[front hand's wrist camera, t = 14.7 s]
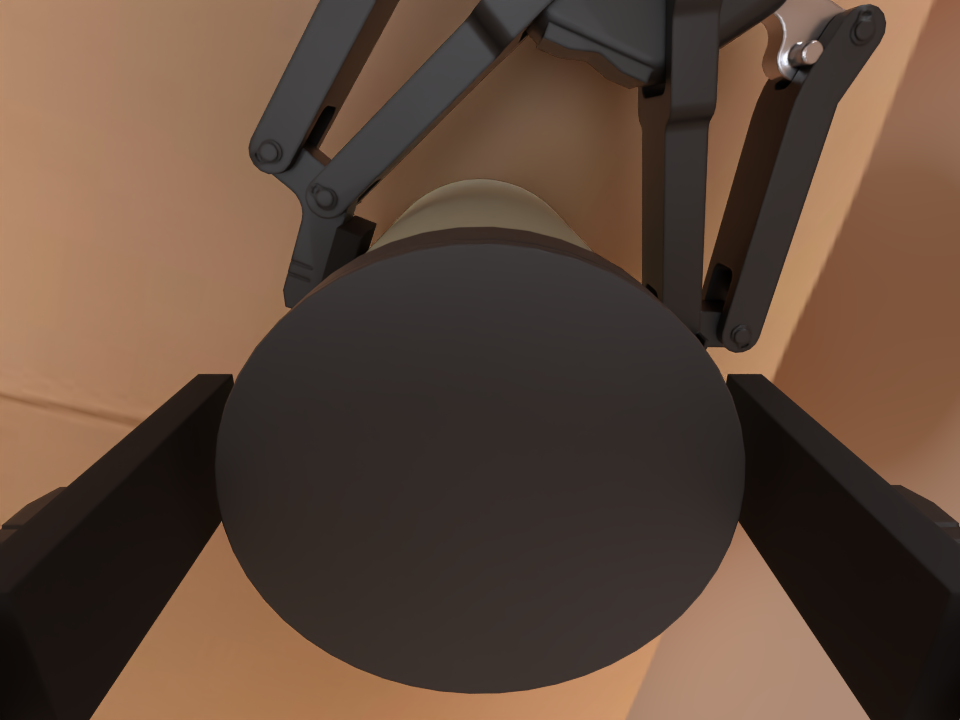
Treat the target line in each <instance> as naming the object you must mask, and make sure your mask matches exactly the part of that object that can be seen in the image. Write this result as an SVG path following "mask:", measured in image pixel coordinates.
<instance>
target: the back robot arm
mask: <svg viewBox="0 0 960 720" xmlns="http://www.w3.org/2000/svg"><path fill="white" fill-rule="evenodd" d="M398 2H399V0H320V1H319V3H318V5H317V7H316V9H315V11H314V13H313V15H312V17H311V19H310V21H309V23H308V25H307V27H306V29H305V31H304V33H303V35H302V37H301V39H300V41H299V43H298V45H297V47H296V49H295V51H294V53H293V55H292V58H291V60H290V62H289V64H288V66H287V68H286V70H285V72H284V74H283V76H282V78H281V80H280V82H279V84H278V86H277V88H276V90H275V92H274V94H273V96H272V98H271V100H270V102H269V104H268V106H267V108H266V110H265V112H264V114H263V116H262V118H261V120H260V122H259V124H258V126H257V128H256V130H255V132H254V134H253V136H252V138H251V140H250V144H249V155H250V158H251V160H252V162H253V164H254V165H255V166H256V167H257V168H258V169H259V170H260V171H263V172H265V173H267V174H272V175H274V176H275V177H276V178H277V179H279V180H280V181H281V182H282V183H283V184H285V185H286V186H287V187H288V188H290V189H291V190H292V191H293V192H294V193H295V194H296V196H297V197H298V199H299V201H300V203H301V206H302V213H303V215H302V221H301V225H300V229H299V232H298V236H297V240H296V244H295V247H294V251H293V255H292V259H291V263H290V266H289V270H288V274H287V278H286V281H285V285H284V289H283V292H284V299H285V306H286V307H288V308H291V309H292V308H293V307H294V306H295V305H296V304H297V303H298V302H300V301H301V300H302V299H303V298H304V297H305V296H306V295H307V294H308V293H309V292H310V291H312V290H313V289H314V288H315V287H316V286H318V285H319V284H320V283H321V282H322V281H323V280H325V279H326V278H327V277H328V276H329V275H331V274H332V273H333V272H335V271H336V270H338V269H340V268H341V267H343V266H344V265H346V264H348V263H349V262H351V261H352V260H354V259H356V258H357V257H359V256H361V255H363V254H365V253H366V252H367V251H368V250H369V246H370V243H371V240H372V237H373V234H374V230H375V227H376V223H374V222H371V221H369V220H366V219H363V218H361V217H358V216H354V217H353V215H354V212H355V208H356V205H357V204H359V203H361V200H362V199H363V198H364V197H365V196H366V195H367V194H368V193H369V192H370V191H371V190H372V189H373V188H374V187H375V186H376V185H377V184H378V183H379V182H380V181H381V180H382V179H383V178H384V177H385V176H386V175H387V174H388V173H389V172H390V171H391V170H392V169H393V168H394V167H395V166H396V165H397V164H398V163H399V162H400V161H401V160H402V159H403V158H404V157H405V156H406V155H407V154H408V153H409V152H410V151H411V150H412V149H413V148H414V147H415V146H416V145H417V144H418V143H419V142H420V141H421V140H422V139H423V138H424V137H425V136H426V135H427V134H428V133H429V132H430V131H431V130H432V129H433V128H434V127H435V126H436V125H437V124H438V123H439V122H440V121H441V120H442V119H443V118H444V117H445V116H446V115H447V114H448V113H449V112H450V111H451V110H452V109H453V108H454V107H455V106H456V105H458V104H459V103H460V102H461V101H462V100H463V99H464V98H465V97H466V96H467V95H468V94H469V93H470V92H471V91H472V90H473V89H474V88H475V87H476V86H477V85H478V84H479V83H480V82H481V81H482V80H483V79H484V78H485V77H486V76H487V75H488V74H489V73H490V72H491V71H492V70H493V69H494V68H495V67H496V66H497V65H498V64H499V63H500V62H502V61H503V60H504V59H505V58H506V57H507V56H508V55H509V54H510V53H511V52H512V51H513V50H514V49H515V48H516V47H517V46H518V45H519V44H520V43H521V42H522V41H523V40H524V39H525V38H526V37H527V36H528V35H529V36H530V37H531V38H532V39H533V40H534V41H535V42H536V43H537V44H538V45H537V47H536V48H538V49H540V50H542V51H544V52H547V53H549V54H551V55H554V56H556V57H558V58H563V59H571V60H579V61H586V62H588V63H589V64H590V65H591V66H592V67H593V68H595V69H596V70H597V71H598V72H599V73H600V74H602V75H603V76H604V77H605V78H606V79H608V80H610V81H612V82H615V83H617V84H619V85H622V86H624V87H626V88H628V89H631V88H634V87H638V115H639V121H640V124H641V127H642V285H643V286H644V287H646V288H647V289H648V290H649V291H650V292H651V293H652V294H653V295H654V296H655V297H657V298H658V299H659V300H660V301H661V302H662V303H663V304H664V305H665V306H666V307H667V308H668V309H669V310H670V311H672V312H673V313H674V314H675V315H676V316H677V317H678V319H679V320H680V321H681V322H682V323H683V324H684V325H685V326H686V327H687V328H688V329H689V330H690V331H691V332H692V333H693V334H694V335H695V336H696V337H697V339H698V340H699V341H700V342H701V344H702V345H703V347H704V348H705V350H706V349H707V347H725V348H727V349H728V350H729V351H732V352H735V353H738V352H744V351H747V350H749V349H751V348H752V347H753V346H754V345H755V344H756V342H757V341H758V339H759V337H760V334H761V331H762V328H763V325H764V322H765V319H766V316H767V313H768V310H769V307H770V304H771V301H772V298H773V295H774V292H775V289H776V286H777V283H778V280H779V277H780V274H781V271H782V268H783V265H784V262H785V259H786V256H787V253H788V250H789V247H790V244H791V241H792V238H793V235H794V232H795V229H796V226H797V223H798V220H799V217H800V214H801V212H802V209H803V206H804V203H805V200H806V197H807V194H808V191H809V188H810V185H811V182H812V179H813V176H814V173H815V170H816V167H817V164H818V161H819V158H820V155H821V152H822V149H823V146H824V143H825V140H826V137H827V134H828V131H829V128H830V125H831V122H832V119H833V116H834V113H835V110H836V107H837V104H838V103H839V101H840V100H841V98H842V97H843V95H844V94H845V92H846V91H847V90H848V88H849V87H850V85H851V84H852V82H853V81H854V79H855V78H856V77H857V75H858V74H859V72H860V71H861V69H862V68H863V66H864V65H865V64H866V62H867V61H868V59H869V58H870V56H871V55H872V53H873V52H874V51H875V49H876V48H877V46H878V45H879V43H880V42H881V39H882V37H883V35H884V33H885V27H886V20H885V16H884V13H883V12H882V11H881V10H880V9H879V7H877V6H874V5H871V4H868V5H860V6H857V7H854V8H851V9H848V10H845V9H843V8H841V7H840V6H838V5H837V4H835V3H834V2H832V1H831V0H481V1H480V2H479V3H478V5H477V6H476V7H475V8H474V10H473V11H472V13H471V14H470V16H469V17H468V18H467V19H466V20H465V21H464V23H463V24H462V25H461V26H460V27H459V28H458V29H457V30H456V31H455V32H454V33H453V34H452V35H451V36H450V37H449V38H448V39H447V40H446V41H445V42H444V43H443V44H442V45H441V46H440V48H439V49H438V50H437V51H436V52H435V53H434V54H433V55H432V56H431V57H430V58H429V59H428V60H427V61H426V62H425V63H424V64H423V65H422V66H421V67H420V68H419V69H418V70H417V71H416V73H415V74H414V75H413V76H412V77H411V78H410V79H409V80H408V81H407V82H406V83H405V84H404V85H403V86H402V87H401V88H400V89H399V90H398V91H397V92H396V93H395V94H394V95H393V96H392V97H391V99H390V100H389V101H388V102H387V103H386V104H385V105H384V106H383V107H382V108H381V109H380V110H379V111H378V112H377V113H376V114H375V115H374V116H373V117H372V118H371V119H370V120H369V121H368V122H367V124H366V125H365V126H364V127H363V128H362V129H361V130H360V131H359V132H358V133H357V134H356V135H355V136H354V137H353V138H352V139H351V140H350V141H349V142H348V143H347V144H346V145H345V146H344V147H343V149H342V150H341V151H340V152H339V153H338V154H337V155H336V156H335V157H334V158H333V159H332V160H331V159H330V158H329V157H327V156H326V155H325V154H324V153H323V152H322V151H320V150H319V147H320V146H321V144H322V142H323V140H324V138H325V136H326V135H327V133H328V131H329V129H330V127H331V125H332V123H333V122H334V120H335V118H336V116H337V114H338V112H339V111H340V109H341V107H342V105H343V103H344V101H345V100H346V98H347V96H348V94H349V92H350V90H351V89H352V87H353V85H354V83H355V81H356V79H357V77H358V76H359V74H360V72H361V70H362V68H363V66H364V65H365V63H366V61H367V59H368V57H369V55H370V54H371V52H372V50H373V48H374V46H375V44H376V42H377V41H378V39H379V37H380V35H381V33H382V31H383V30H384V28H385V26H386V24H387V22H388V20H389V19H390V17H391V15H392V13H393V11H394V9H395V8H396V6H397V4H398ZM760 22H762V23H763V24H764V26H765V28H766V29H767V32H768V45H767V48H766V51H765V54H764V57H763V61H762V67H763V71H764V73H765V75H766V76H767V77H768V78H769V79H768V81H767V82H766V84H765V86H764V88H763V90H762V92H761V94H760V97H759V99H758V101H757V103H756V106H755V109H754V112H753V115H752V118H751V121H750V125H749V128H748V132H747V135H746V139H745V142H744V146H743V149H742V153H741V156H740V160H739V163H738V167H737V170H736V173H735V177H734V180H733V184H732V187H731V191H730V194H729V198H728V201H727V205H726V208H725V212H724V215H723V219H722V222H721V226H720V229H719V233H718V236H717V240H716V243H715V247H714V250H713V253H712V257H711V260H710V264H709V267H708V271H707V274H706V278H705V281H704V285H703V288H702V277H703V252H704V227H705V202H706V176H707V151H708V128H709V123H710V120H711V118H712V116H713V114H714V111H715V108H716V100H717V78H718V55H719V49H721V48H722V47H724V46H725V45H727V44H728V43H730V42H731V41H733V40H734V39H736V38H737V37H739V36H740V35H742V34H743V33H745V32H746V31H748V30H749V29H751V28H752V27H754V26H755V25H757V24H758V23H760Z"/></svg>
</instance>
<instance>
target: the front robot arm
mask: <svg viewBox="0 0 960 720" xmlns="http://www.w3.org/2000/svg"><path fill="white" fill-rule="evenodd" d="M726 385H727V387H728V389H729V391H730V393H731V395H732V398H733V401H734V404H735V408H736V411H737V414H738V418H739V421H740V424H741V428H742V436H743V443H744V450H745V490H744V495H743V501H742V506H741V512H740V517H739V520H738V521H739V523H740V524H741V526H742V527H743V529H744V530H745V532H746V533H747V535H748V536H749V538H750V539H751V541H752V542H753V544H754V545H755V547H756V548H757V550H758V551H759V553H760V554H761V556H762V557H763V559H764V560H765V562H766V563H767V565H768V566H769V568H770V569H771V571H772V572H773V574H774V575H775V577H776V578H777V580H778V581H779V583H780V584H781V586H782V587H783V589H784V590H785V592H786V593H787V595H788V596H789V598H790V599H791V601H792V602H793V604H794V605H795V607H796V608H797V610H798V611H799V613H800V614H801V616H802V617H803V619H804V620H805V622H806V623H807V625H808V626H809V628H810V629H811V631H812V632H813V634H814V635H815V637H816V638H817V640H818V641H819V643H820V644H821V646H822V647H823V649H824V650H825V652H826V653H827V655H828V656H829V658H830V659H831V661H832V663H833V664H834V665H835V667H836V669H837V670H838V671H839V673H840V675H841V676H842V678H843V679H844V681H845V682H846V684H847V685H848V687H849V688H850V690H851V691H852V693H853V694H854V696H855V697H856V699H857V700H858V702H859V703H860V705H861V706H862V708H863V709H864V710H865V712H866V714H867V715H868V717H869V718H870V720H959V719H960V527H959V523H958V522H957V521H955V520H954V519H953V518H952V517H951V516H949V515H948V514H947V513H946V512H944V511H943V510H942V509H941V508H940V507H938V506H937V505H936V504H935V503H933V502H931V501H929V500H928V499H926V498H924V497H922V496H920V495H918V494H916V493H914V492H913V491H911V490H909V489H907V488H905V487H903V486H901V485H890V484H889V483H888V482H886V481H885V480H884V479H883V478H882V477H881V476H879V475H878V474H877V473H876V472H875V471H874V470H873V469H871V468H870V467H869V466H868V465H867V464H866V463H864V462H863V461H862V460H861V459H860V458H859V457H857V456H856V455H855V454H854V453H853V452H852V451H850V450H849V449H848V448H847V447H846V446H845V445H843V444H842V443H841V442H840V441H839V440H838V439H836V438H835V437H834V436H833V435H832V434H831V433H829V432H828V431H827V430H826V429H825V428H823V427H822V426H821V425H820V424H819V423H818V422H817V421H815V420H814V419H813V418H812V417H811V416H810V415H808V414H807V413H806V412H805V411H804V410H803V409H801V408H800V407H799V406H798V405H797V404H796V403H794V402H793V401H792V400H791V399H790V398H789V397H787V396H786V395H785V394H784V393H783V392H782V391H780V390H779V389H778V388H777V387H776V386H775V385H774V384H772V383H771V382H770V381H769V380H768V379H767V378H765V377H764V376H763V375H762V374H728V376H727V381H726ZM233 386H234V381H233V376H232V374H198V375H197V376H196V377H195V378H193V379H192V380H191V381H190V382H189V383H188V384H186V385H185V386H184V387H183V388H182V389H181V390H180V391H178V392H177V393H176V394H175V395H174V396H173V397H171V398H170V399H169V400H168V401H167V402H166V403H164V404H163V405H162V406H161V407H160V408H159V409H157V410H156V411H155V412H154V413H153V414H152V415H150V416H149V417H148V418H147V419H146V420H145V421H143V422H142V423H141V424H140V425H139V426H138V427H136V428H135V429H134V430H133V431H132V432H131V433H129V434H128V435H127V436H126V437H125V438H124V439H122V440H121V441H120V442H119V443H118V444H117V445H115V446H114V447H113V448H112V449H111V450H110V451H108V452H107V453H106V454H105V455H104V456H103V457H101V458H100V459H99V460H98V461H97V462H96V463H94V464H93V465H92V466H91V467H90V468H89V469H87V470H86V471H85V472H84V473H83V474H82V475H81V476H79V477H78V478H77V479H76V480H75V481H74V482H72V483H71V484H70V485H69V486H68V487H59V488H58V489H56V490H54V491H52V492H50V493H48V494H46V495H44V496H42V497H41V498H39V499H37V500H35V501H33V502H31V503H29V504H27V505H26V506H25V507H24V508H22V509H21V510H20V511H19V512H18V513H16V514H15V515H14V516H13V517H12V518H10V519H9V520H8V521H7V522H5V523H4V524H3V525H2V529H1V530H0V719H1V720H90V718H91V717H92V715H93V714H94V712H95V711H96V709H97V708H98V706H99V705H100V703H101V702H102V700H103V699H104V697H105V696H106V694H107V693H108V691H109V690H110V688H111V687H112V685H113V684H114V682H115V681H116V679H117V678H118V676H119V675H120V673H121V672H122V670H123V669H124V667H125V666H126V664H127V663H128V661H129V659H130V658H131V656H132V655H133V653H134V652H135V650H136V649H137V647H138V646H139V644H140V643H141V641H142V640H143V638H144V637H145V635H146V634H147V632H148V631H149V629H150V628H151V626H152V625H153V623H154V622H155V620H156V619H157V617H158V616H159V614H160V613H161V611H162V610H163V608H164V607H165V605H166V604H167V602H168V601H169V599H170V598H171V596H172V595H173V593H174V592H175V590H176V589H177V587H178V586H179V584H180V583H181V581H182V580H183V578H184V577H185V575H186V574H187V572H188V571H189V569H190V568H191V566H192V565H193V563H194V562H195V560H196V559H197V557H198V556H199V554H200V553H201V551H202V550H203V548H204V547H205V545H206V544H207V542H208V541H209V539H210V538H211V536H212V535H213V533H214V532H215V530H216V529H217V527H218V526H219V524H220V523H221V521H222V519H221V514H220V510H219V505H218V501H217V496H216V481H215V456H216V445H217V435H218V431H219V427H220V423H221V419H222V415H223V411H224V407H225V404H226V402H227V400H228V397H229V395H230V393H231V390H232V388H233Z"/></svg>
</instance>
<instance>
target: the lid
mask: <svg viewBox="0 0 960 720" xmlns="http://www.w3.org/2000/svg"><path fill="white" fill-rule="evenodd" d="M215 481H216V496H217V501H218V505H219V510H220V514H221V519H222V523H223V526H224V529H225V532H226V534H227V537H228V539H229V542H230V545H231V547H232V550H233V552H234V554H235V556H236V558H237V559H238V561H239V563H240V565H241V567H242V568H243V570H244V572H245V574H246V576H247V577H248V579H249V580H250V581H251V583H252V584H253V585H254V587H255V588H256V589H257V591H258V592H259V593H260V595H261V596H262V598H263V599H264V600H265V601H266V602H267V603H268V604H269V605H270V606H271V607H272V608H273V610H274V611H275V612H276V613H277V614H278V615H279V616H280V617H281V618H282V619H283V620H284V621H285V622H286V623H288V624H289V625H290V626H291V627H292V628H294V629H295V630H296V631H297V632H299V633H300V634H301V635H302V636H303V637H305V638H306V639H307V640H309V641H310V642H312V643H313V644H315V645H316V646H318V647H319V648H321V649H323V650H324V651H326V652H327V653H329V654H330V655H332V656H334V657H336V658H338V659H340V660H342V661H344V662H346V663H348V664H350V665H352V666H354V667H356V668H358V669H361V670H363V671H366V672H368V673H371V674H373V675H376V676H379V677H381V678H384V679H388V680H391V681H395V682H398V683H402V684H405V685H409V686H413V687H419V688H425V689H430V690H436V691H443V692H455V693H468V694H480V693H506V692H515V691H525V690H531V689H536V688H541V687H546V686H551V685H556V684H559V683H562V682H566V681H569V680H572V679H575V678H579V677H582V676H585V675H587V674H590V673H592V672H595V671H597V670H599V669H602V668H604V667H606V666H609V665H611V664H613V663H615V662H617V661H619V660H620V659H622V658H624V657H626V656H628V655H629V654H631V653H633V652H635V651H637V650H638V649H640V648H641V647H643V646H644V645H645V644H647V643H648V642H650V641H651V640H653V639H654V638H655V637H657V636H658V635H660V634H661V633H662V632H663V631H664V630H666V629H667V628H668V627H669V626H670V625H671V624H672V623H673V622H675V621H676V620H677V619H678V618H679V617H680V616H681V615H682V614H683V613H684V612H685V611H686V610H687V609H688V608H689V607H690V605H691V604H692V603H693V602H694V601H695V600H696V599H697V598H698V597H699V595H700V594H701V593H702V591H703V590H704V589H705V587H706V586H707V584H708V583H709V581H710V580H711V579H712V577H713V576H714V574H715V573H716V571H717V570H718V568H719V566H720V564H721V562H722V560H723V558H724V556H725V554H726V552H727V550H728V548H729V546H730V544H731V541H732V538H733V535H734V532H735V529H736V526H737V523H738V520H739V517H740V512H741V506H742V501H743V495H744V490H745V450H744V443H743V436H742V428H741V424H740V421H739V418H738V414H737V411H736V408H735V404H734V401H733V398H732V395H731V393H730V391H729V389H728V387H727V385H726V383H725V381H724V379H723V377H722V375H721V373H720V371H719V369H718V367H717V365H716V364H715V363H714V361H713V360H712V358H711V357H710V355H709V354H708V352H707V351H706V350H705V348H704V347H703V345H702V344H701V342H700V341H699V340H698V339H697V337H696V336H695V335H694V334H693V333H692V332H691V331H690V330H689V329H688V328H687V327H686V326H685V325H684V324H683V323H682V322H681V321H680V320H679V319H678V317H677V316H676V315H675V314H674V313H673V312H672V311H670V310H669V309H668V308H667V307H666V306H665V305H664V304H663V303H662V302H661V301H660V300H659V299H658V298H657V297H655V296H654V295H653V294H652V293H651V292H650V291H649V290H648V289H647V288H646V287H644V286H643V285H642V284H641V283H639V282H638V281H637V280H635V279H634V278H633V277H632V276H630V275H629V274H628V273H627V272H625V271H624V270H623V269H621V268H620V267H618V266H616V265H615V264H613V263H611V262H609V261H608V260H606V259H604V258H602V257H601V256H599V255H597V254H595V253H594V252H592V251H589V250H587V249H584V248H582V247H579V246H577V245H574V244H572V243H569V242H567V241H565V240H562V239H559V238H555V237H551V236H547V235H543V234H539V233H535V232H531V231H527V230H518V229H509V228H501V227H456V228H450V229H443V230H437V231H430V232H423V233H420V234H417V235H413V236H410V237H406V238H403V239H400V240H396V241H393V242H390V243H387V244H385V245H383V246H381V247H379V248H376V249H374V250H372V251H370V252H367V253H365V254H363V255H361V256H359V257H357V258H356V259H354V260H352V261H351V262H349V263H348V264H346V265H344V266H343V267H341V268H340V269H338V270H336V271H335V272H333V273H332V274H331V275H329V276H328V277H327V278H326V279H325V280H323V281H322V282H321V283H320V284H319V285H318V286H316V287H315V288H314V289H313V290H312V291H310V292H309V293H308V294H307V295H306V296H305V297H304V298H303V299H302V300H301V301H300V302H298V303H297V304H296V305H295V306H294V307H293V308H292V309H291V310H290V311H289V312H288V313H287V314H286V315H285V316H284V317H282V318H281V319H280V320H279V321H278V322H277V324H276V325H275V326H274V327H273V328H272V329H271V330H270V332H269V333H268V334H267V335H266V336H265V337H264V338H263V340H262V341H261V342H260V343H259V344H258V345H257V346H256V348H255V349H254V351H253V353H252V354H251V356H250V357H249V359H248V360H247V362H246V364H245V365H244V367H243V368H242V370H241V371H240V373H239V375H238V376H237V379H236V381H235V383H234V386H233V388H232V390H231V393H230V395H229V397H228V400H227V402H226V404H225V407H224V411H223V415H222V419H221V423H220V427H219V431H218V435H217V445H216V456H215Z"/></svg>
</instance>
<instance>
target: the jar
mask: <svg viewBox="0 0 960 720" xmlns="http://www.w3.org/2000/svg"><path fill="white" fill-rule="evenodd" d="M456 227H501V228H509V229H518V230H527V231H531V232H535V233H539V234H543V235H547V236H551V237H555V238H559V239H562V240H565V241H567V242H569V243H572V244H574V245H577V246H579V247H582V248H584V249H587V250H589V251H592V250H591V249H590V248H589V247H588V246H587V244H586V243H585V242H584V241H583V240H582V239H581V238H580V237H579V236H578V235H577V234H576V233H575V232H574V231H573V230H572V229H571V228H570V227H569V226H568V225H567V223H566V222H565V221H564V220H563V219H562V218H561V217H560V216H559V215H558V214H557V213H556V212H555V211H554V210H553V209H552V208H551V207H550V206H549V205H548V204H547V203H546V202H544V201H543V200H542V199H540V198H539V197H537V196H536V195H534V194H533V193H531V192H529V191H527V190H525V189H523V188H521V187H519V186H516V185H513V184H510V183H507V182H502V181H497V180H489V179H471V180H463V181H458V182H453V183H450V184H447V185H444V186H442V187H439V188H437V189H435V190H433V191H431V192H429V193H427V194H426V195H424V196H423V197H421V198H420V199H419V200H417V201H416V202H415V203H413V204H412V205H411V206H410V207H409V208H408V209H407V210H406V211H405V212H404V213H403V214H402V215H401V216H400V217H399V218H398V219H397V220H396V222H395V223H394V224H393V225H392V226H391V227H390V228H389V229H388V230H387V231H386V232H385V233H384V234H383V235H382V236H381V237H380V238H379V239H378V240H377V242H376V243H375V244H374V245H373V246H372V247H371V248H370V249H369V250H368V251H367V252H370V251H372V250H374V249H376V248H379V247H381V246H383V245H385V244H387V243H390V242H393V241H396V240H400V239H403V238H406V237H410V236H413V235H417V234H420V233H423V232H430V231H437V230H443V229H450V228H456ZM367 252H366V253H367ZM592 252H593V251H592Z"/></svg>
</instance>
